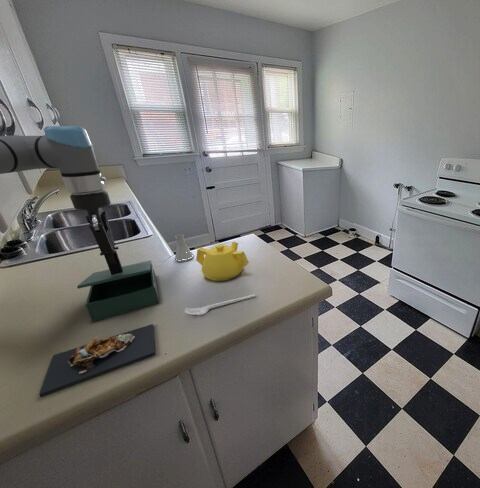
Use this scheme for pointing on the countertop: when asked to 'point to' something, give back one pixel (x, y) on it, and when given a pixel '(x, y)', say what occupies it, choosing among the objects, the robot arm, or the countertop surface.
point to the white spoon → (205, 309)
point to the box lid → (106, 275)
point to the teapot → (221, 262)
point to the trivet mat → (98, 361)
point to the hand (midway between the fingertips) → (117, 272)
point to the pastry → (98, 350)
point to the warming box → (122, 295)
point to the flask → (182, 249)
